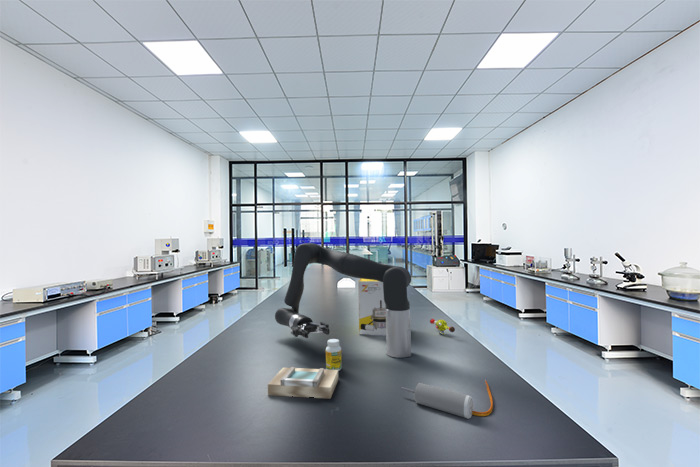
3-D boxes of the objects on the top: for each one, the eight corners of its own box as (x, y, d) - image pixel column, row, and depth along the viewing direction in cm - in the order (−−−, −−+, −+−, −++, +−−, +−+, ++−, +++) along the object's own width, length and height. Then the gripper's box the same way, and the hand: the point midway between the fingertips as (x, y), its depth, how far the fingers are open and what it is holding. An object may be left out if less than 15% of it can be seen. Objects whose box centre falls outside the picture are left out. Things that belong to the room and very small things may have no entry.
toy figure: (425, 329, 150) (425, 315, 151) (435, 328, 152) (435, 315, 152) (448, 340, 133) (447, 324, 133) (458, 339, 135) (458, 323, 135)
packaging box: (392, 326, 158) (391, 277, 159) (394, 335, 142) (393, 281, 143) (361, 326, 159) (360, 277, 161) (359, 335, 143) (358, 281, 144)
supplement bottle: (336, 364, 107) (336, 337, 108) (344, 369, 103) (344, 341, 103) (323, 368, 105) (322, 339, 105) (330, 373, 100) (330, 344, 100)
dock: (338, 379, 95) (338, 365, 96) (330, 399, 83) (330, 382, 84) (283, 377, 98) (282, 362, 98) (267, 395, 86) (267, 379, 86)
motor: (484, 427, 70) (485, 403, 70) (396, 399, 82) (397, 380, 83) (502, 401, 88) (502, 383, 89) (428, 382, 101) (429, 366, 102)
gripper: (284, 317, 124) (300, 326, 110) (316, 312, 131) (334, 321, 118) (284, 335, 124) (300, 347, 110) (316, 330, 131) (334, 340, 117)
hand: (318, 333), depth 114 cm, fingers open, 8 cm apart
